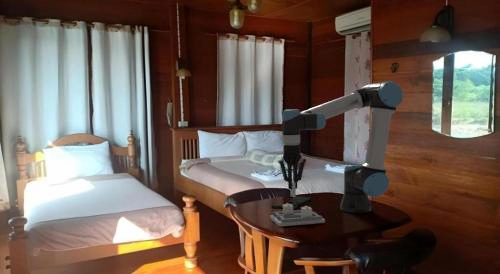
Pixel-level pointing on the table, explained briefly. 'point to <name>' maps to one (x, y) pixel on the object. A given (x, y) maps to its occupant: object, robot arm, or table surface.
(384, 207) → the table surface
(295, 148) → the robot arm
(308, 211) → the tab
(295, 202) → the firearm
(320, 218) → the switch plate
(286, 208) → the tab
